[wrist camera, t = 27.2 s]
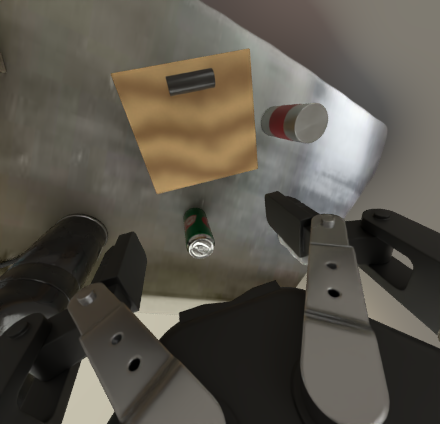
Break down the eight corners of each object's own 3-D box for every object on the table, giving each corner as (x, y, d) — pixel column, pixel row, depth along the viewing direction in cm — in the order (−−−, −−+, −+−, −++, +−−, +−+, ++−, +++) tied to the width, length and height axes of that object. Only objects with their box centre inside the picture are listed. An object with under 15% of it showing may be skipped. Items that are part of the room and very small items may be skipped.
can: (261, 138, 39) (294, 147, 29) (259, 109, 37) (294, 106, 26) (286, 132, 40) (326, 139, 29) (285, 103, 37) (330, 99, 27)
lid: (112, 74, 22) (97, 67, 18) (247, 49, 24) (265, 37, 20) (157, 192, 30) (155, 208, 26) (256, 167, 32) (270, 178, 28)
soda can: (189, 203, 42) (195, 232, 32) (209, 212, 44) (221, 242, 34) (179, 221, 43) (181, 255, 33) (199, 229, 46) (207, 263, 35)
